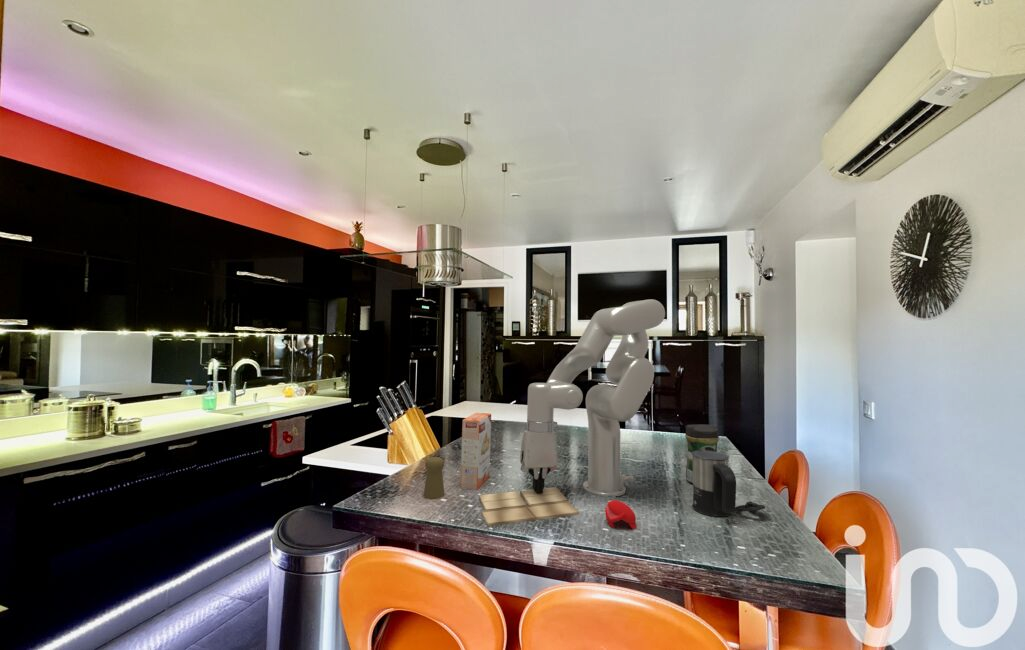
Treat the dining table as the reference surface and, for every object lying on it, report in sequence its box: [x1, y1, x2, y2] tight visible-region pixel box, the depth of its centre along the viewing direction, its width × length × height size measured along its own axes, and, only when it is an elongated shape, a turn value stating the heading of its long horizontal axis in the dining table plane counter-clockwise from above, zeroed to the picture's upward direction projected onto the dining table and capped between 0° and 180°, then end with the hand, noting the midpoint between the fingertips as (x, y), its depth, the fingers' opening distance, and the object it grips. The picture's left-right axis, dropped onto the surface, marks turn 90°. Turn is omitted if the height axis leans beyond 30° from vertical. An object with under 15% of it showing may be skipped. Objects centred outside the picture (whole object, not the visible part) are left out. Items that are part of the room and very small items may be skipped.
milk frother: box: [691, 451, 766, 517], centre depth 107 cm, size 14×16×15 cm
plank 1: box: [478, 491, 527, 511], centre depth 109 cm, size 11×8×1 cm
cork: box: [423, 456, 445, 500], centre depth 114 cm, size 6×6×11 cm
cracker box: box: [459, 412, 492, 491], centre depth 126 cm, size 14×6×21 cm, turn 168°
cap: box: [604, 499, 637, 530], centre depth 97 cm, size 8×6×6 cm
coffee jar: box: [684, 423, 720, 485], centre depth 129 cm, size 10×8×19 cm
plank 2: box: [519, 486, 569, 506], centre depth 112 cm, size 11×8×1 cm
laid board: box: [480, 500, 580, 527], centre depth 102 cm, size 24×7×1 cm, turn 108°
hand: (538, 491), depth 114 cm, fingers closed
